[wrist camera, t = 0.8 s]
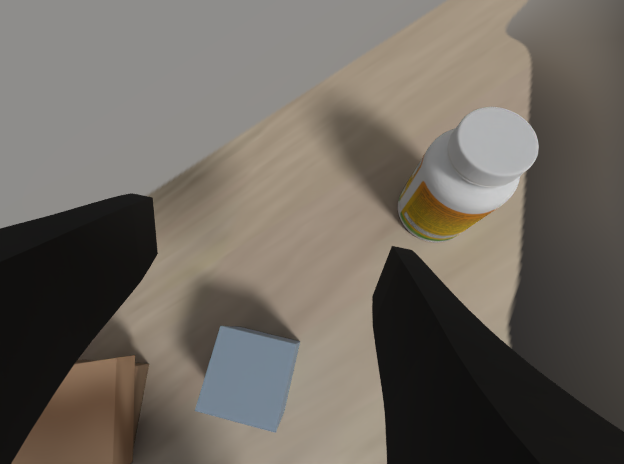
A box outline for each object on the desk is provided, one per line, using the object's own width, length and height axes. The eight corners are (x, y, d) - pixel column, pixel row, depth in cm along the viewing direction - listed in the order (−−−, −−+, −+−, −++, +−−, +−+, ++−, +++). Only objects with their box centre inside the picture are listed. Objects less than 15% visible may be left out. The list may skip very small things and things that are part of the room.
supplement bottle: (470, 244, 24) (566, 189, 15) (398, 243, 24) (450, 189, 15) (461, 179, 26) (542, 93, 16) (394, 179, 26) (437, 94, 16)
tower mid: (132, 461, 19) (112, 475, 17) (31, 477, 19) (-2, 494, 17) (134, 355, 21) (116, 357, 19) (42, 369, 21) (13, 373, 19)
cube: (284, 411, 21) (275, 432, 17) (219, 394, 21) (194, 410, 17) (300, 341, 22) (295, 344, 18) (239, 326, 23) (220, 325, 18)
